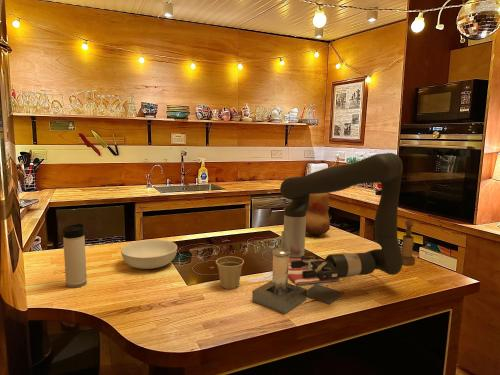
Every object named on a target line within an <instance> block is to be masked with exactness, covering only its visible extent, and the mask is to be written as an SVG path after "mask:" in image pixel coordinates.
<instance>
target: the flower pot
mask: <svg viewBox="0 0 500 375" xmlns="http://www.w3.org/2000/svg"><path fill="white" fill-rule="evenodd" d="M244 263H245V260H244V259H243V258H241V257H238V256H231V255H230V256H229V255H228V256H223V257H219V258H217V259H216V260H215V265H217V268H218V275H219V282H220V287H221V288H224V289H226V290H234V289H235V288H238V287H240V281H241V279H240V278H241V274H242V268H243V264H244Z"/></svg>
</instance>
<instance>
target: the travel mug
mask: <svg viewBox="0 0 500 375" xmlns="http://www.w3.org/2000/svg"><path fill="white" fill-rule="evenodd" d="M62 234H63V236H62V238H63V240H62V242H63V254H64V257H63V258H64V273H65V286H66V287H67V288H71V289H75V288H80V287H83V286H84V285H86V284H87V283H88V277H87V260H86V258H87V257H86V242H85V241H86V240H85V225H84V224H83V223H77V224H70V225H67V226H65V227H64V228H63V229H62Z"/></svg>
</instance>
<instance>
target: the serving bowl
mask: <svg viewBox="0 0 500 375" xmlns="http://www.w3.org/2000/svg"><path fill="white" fill-rule="evenodd" d="M177 252H178V245H177V244H176V243H175V242H173V241H171V240H165V239H143V240H137V241H133V242H129V243H128V244H125V245H124V246H123V247H121V248H120V254H121V257H122V259H123V261H124V262H125V263H126V264H127V265H129V266H130V267H133V268H135V269H144V270H147V269H148V270H151V269H157V268H161V267H164V266H166V265H169V264H170V263H171V262H172V261H173V260H174V259H175V257H176V255H177Z"/></svg>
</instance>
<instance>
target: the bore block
mask: <svg viewBox="0 0 500 375" xmlns="http://www.w3.org/2000/svg"><path fill="white" fill-rule="evenodd" d="M307 290H308V288H305V287H303V286H297V285H296V284H291V283H290V282H288V293H287V294H286V295H284V296H280V295H277V294H274V293H272V280H270V281H268V282H266V283H265V284H262V285H260V286H259V287H257V288H255V289H253V290H252V293H251V295H252V298H251V299H252V300H251V301H252V302H253V303H256V304H258V305H261V306H263V307H266V308H269V309H271V310H273V311H276V312H278V313H281V314H284V315H285V314H287V313H289V312H290V311H292V310H294V309H295V308H296V307H297V306H300V305H301V304H302V303H303V302H305V301H306V300H307V297H306V292H307Z"/></svg>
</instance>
